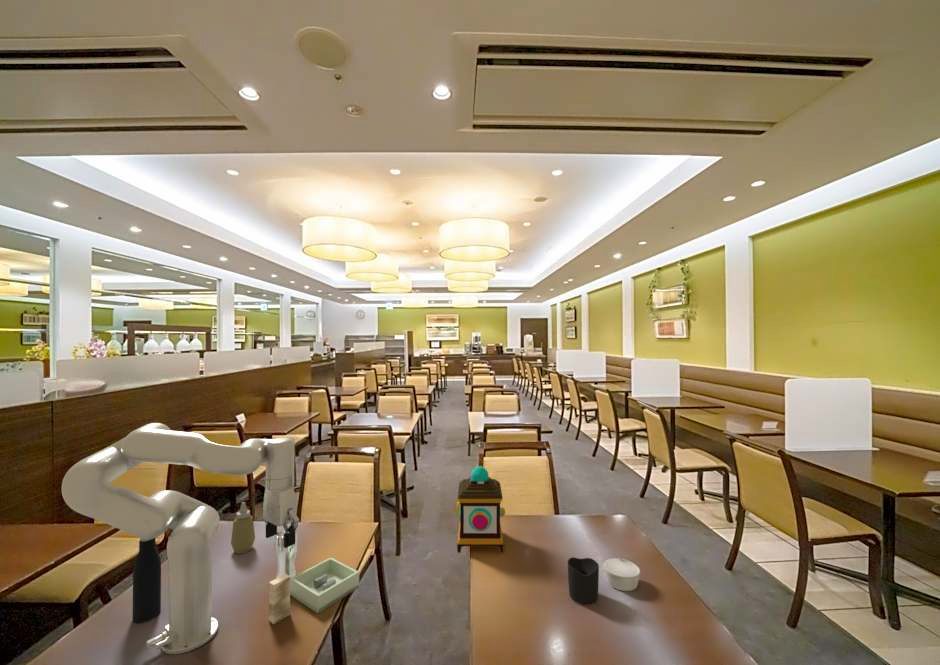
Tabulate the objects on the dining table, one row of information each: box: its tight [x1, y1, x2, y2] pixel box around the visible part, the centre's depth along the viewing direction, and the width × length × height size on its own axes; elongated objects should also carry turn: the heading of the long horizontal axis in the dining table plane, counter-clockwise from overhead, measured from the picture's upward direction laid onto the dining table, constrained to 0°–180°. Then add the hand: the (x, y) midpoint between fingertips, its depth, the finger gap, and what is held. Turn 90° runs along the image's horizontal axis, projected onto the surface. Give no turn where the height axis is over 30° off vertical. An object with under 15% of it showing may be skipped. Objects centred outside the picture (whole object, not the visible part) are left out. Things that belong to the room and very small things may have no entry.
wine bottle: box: [132, 538, 162, 624], centre depth 117 cm, size 6×6×30 cm
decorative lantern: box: [454, 465, 506, 554], centre depth 159 cm, size 20×20×30 cm
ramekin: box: [603, 557, 641, 592], centre depth 132 cm, size 11×11×5 cm
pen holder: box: [567, 556, 600, 605], centre depth 125 cm, size 9×9×10 cm
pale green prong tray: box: [290, 557, 360, 614], centre depth 128 cm, size 15×15×5 cm
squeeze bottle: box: [230, 501, 256, 554], centre depth 154 cm, size 8×8×18 cm
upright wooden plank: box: [268, 574, 291, 625], centre depth 116 cm, size 5×2×11 cm, turn 145°
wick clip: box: [314, 574, 336, 591], centre depth 128 cm, size 4×6×2 cm
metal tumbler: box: [274, 528, 298, 579], centre depth 136 cm, size 7×7×15 cm
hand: (280, 540), depth 117 cm, fingers open, 9 cm apart
